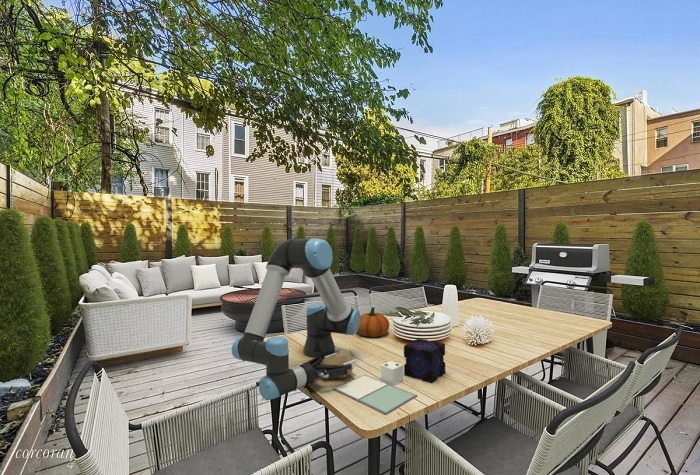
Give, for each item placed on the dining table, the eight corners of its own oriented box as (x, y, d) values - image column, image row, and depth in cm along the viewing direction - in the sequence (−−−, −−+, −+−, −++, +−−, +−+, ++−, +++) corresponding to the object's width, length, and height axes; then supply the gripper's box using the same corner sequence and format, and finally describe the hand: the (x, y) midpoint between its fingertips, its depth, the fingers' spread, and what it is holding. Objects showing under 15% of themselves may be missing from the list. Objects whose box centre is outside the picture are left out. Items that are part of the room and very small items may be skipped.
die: (380, 380, 133) (380, 364, 132) (390, 375, 137) (390, 360, 137) (393, 385, 128) (392, 369, 128) (402, 380, 132) (402, 364, 132)
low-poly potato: (357, 371, 142) (336, 354, 148) (363, 353, 137) (341, 336, 142) (335, 394, 131) (313, 375, 136) (340, 375, 126) (317, 356, 131)
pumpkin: (349, 332, 198) (349, 306, 198) (378, 327, 206) (378, 302, 206) (365, 341, 180) (364, 313, 180) (396, 336, 188) (395, 309, 188)
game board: (333, 389, 125) (333, 388, 125) (365, 375, 137) (365, 374, 137) (385, 414, 107) (385, 413, 107) (417, 396, 119) (417, 395, 119)
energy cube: (418, 366, 146) (418, 338, 146) (445, 373, 138) (445, 343, 138) (404, 375, 137) (403, 345, 137) (432, 383, 129) (431, 352, 129)
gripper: (283, 377, 132) (328, 361, 147) (321, 396, 115) (366, 376, 131) (283, 357, 132) (327, 343, 147) (321, 374, 115) (366, 357, 130)
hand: (346, 359), depth 139 cm, fingers closed on low-poly potato, 10 cm apart
